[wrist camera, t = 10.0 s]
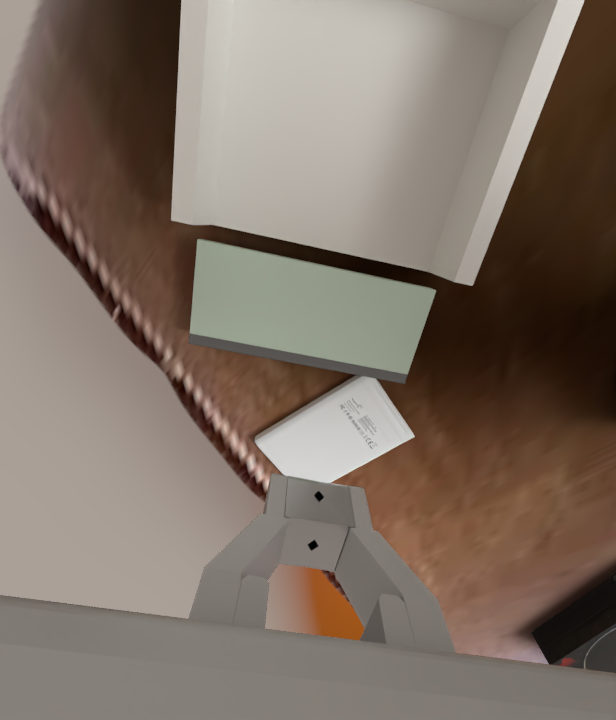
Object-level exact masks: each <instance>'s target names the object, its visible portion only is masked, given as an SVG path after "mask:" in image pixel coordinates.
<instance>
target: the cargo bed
mask: <svg viewBox="0 0 616 720" xmlns="http://www.w3.org/2000/svg"><path fill="white" fill-rule="evenodd" d="M583 3H584V0H181V20H180V41H179V62H178V83H177V104H176V125H175V147H174V168H173V189H172V210H171V221H176V222H180V223H185V224H190V225H216V226H221V227H225V228H230V229H234V230H239V231H243V232H248V233H253V234H257V235H262V236H266V237H271V238H275V239H280V240H285V241H289V242H294V243H298V244H303V245H307V246H312V247H317V248H321V249H326V250H330V251H335V252H339V253H344V254H349V255H353V256H358V257H362V258H367V259H371V260H376V261H381V262H385V263H390V264H394V265H399V266H403V267H408V268H413V269H417V270H422V271H426V272H430V273H432V274H435V275H437V276H440V277H442V278H445V279H448V280H450V281H453V282H456V283H461V284H466V285H470V286H473V284H474V281H475V279H476V276H477V274H478V271H479V268H480V266H481V263H482V261H483V258H484V256H485V253H486V251H487V248H488V245H489V243H490V240H491V238H492V235H493V233H494V230H495V228H496V225H497V222H498V220H499V217H500V215H501V212H502V210H503V207H504V205H505V202H506V199H507V197H508V194H509V192H510V189H511V187H512V184H513V182H514V179H515V177H516V174H517V171H518V169H519V166H520V164H521V161H522V159H523V156H524V154H525V151H526V148H527V146H528V143H529V141H530V138H531V136H532V133H533V131H534V128H535V125H536V123H537V120H538V118H539V115H540V113H541V110H542V108H543V105H544V102H545V100H546V97H547V95H548V92H549V90H550V87H551V85H552V82H553V79H554V77H555V74H556V72H557V69H558V67H559V64H560V62H561V59H562V57H563V54H564V51H565V49H566V46H567V44H568V41H569V39H570V36H571V34H572V31H573V28H574V26H575V23H576V21H577V18H578V16H579V13H580V11H581V8H582V5H583Z"/></svg>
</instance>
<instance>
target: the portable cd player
mask: <svg viewBox="0 0 616 720" xmlns="http://www.w3.org/2000/svg"><path fill="white" fill-rule="evenodd" d="M531 633H532V634H533V636H534V638H535V640H536V642H537V643H538V645H539V647H540V649H541V651H542V652H543V654H544V656H545V658H546V660H547V661H548V663H549V665H556V666H564V667H572V668H580V669H588V670H596V671H604V672H612V673H616V574H614V575H613V576H612V577H610V578H609V579H607V580H606V581H604V582H603V583H602V584H600V585H599V586H597V587H596V588H594V589H593V590H592V591H590V592H589V593H587V594H586V595H584V596H583V597H582V598H580V599H579V600H577V601H576V602H574V603H573V604H572V605H570V606H569V607H567V608H566V609H564V610H563V611H562V612H560V613H559V614H557V615H556V616H554V617H553V618H552V619H550V620H549V621H547V622H546V623H544V624H543V625H541V626H540V627H539V628H537V629H536V630H534V631H533V632H531Z"/></svg>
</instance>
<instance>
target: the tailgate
mask: <svg viewBox="0 0 616 720" xmlns="http://www.w3.org/2000/svg"><path fill="white" fill-rule="evenodd" d="M435 293H436V290H434V289H432V288H429V287H425V286H420V285H415V284H411V283H406V282H401V281H397V280H392V279H387V278H383V277H378V276H373V275H369V274H364V273H359V272H355V271H350V270H345V269H341V268H336V267H331V266H327V265H322V264H317V263H313V262H308V261H303V260H299V259H294V258H289V257H285V256H280V255H275V254H271V253H266V252H261V251H257V250H252V249H247V248H243V247H238V246H233V245H229V244H224V243H219V242H215V241H210V240H205V239H197V250H196V262H195V275H194V287H193V299H192V311H191V323H190V334H189V344H194V345H199V346H204V347H210V348H215V349H221V350H226V351H231V352H237V353H242V354H247V355H253V356H258V357H263V358H269V359H274V360H280V361H285V362H290V363H296V364H301V365H306V366H312V367H317V368H323V369H328V370H333V371H339V372H344V373H349V374H355V375H360V376H365V377H371V378H376V379H382V380H387V381H392V382H398V383H403V384H405V381H406V378H407V376H408V372H409V369H410V366H411V363H412V360H413V357H414V354H415V351H416V348H417V346H418V343H419V340H420V337H421V334H422V331H423V328H424V325H425V322H426V319H427V316H428V313H429V311H430V308H431V305H432V302H433V299H434V296H435Z"/></svg>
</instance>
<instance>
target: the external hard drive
mask: <svg viewBox="0 0 616 720" xmlns="http://www.w3.org/2000/svg"><path fill="white" fill-rule="evenodd" d="M413 437H415V436H414V434H413V432H412V431H411V429H410V428H409V426H408V425H407V423H406V422H405V420H404V419H403V417H402V416H401V415H400V413H399V412H398V410H397V409H396V407H395V406H394V404H393V403H392V401H391V400H390V398H389V397H388V395H387V394H386V392H385V391H384V389H383V388H382V386H381V385H380V383H379V382H378V380H377V379H376V378H371V377H365V376H360V375H355V376H354V377H352V378H350V379H349V380H347V381H345V382H344V383H342V384H340V385H339V386H337V387H335V388H334V389H332V390H331V391H329V392H327V393H325V394H324V395H322V396H320V397H319V398H317V399H316V400H314V401H312V402H311V403H309V404H307V405H306V406H304V407H302V408H301V409H299V410H297V411H296V412H294V413H292V414H291V415H289V416H287V417H286V418H284V419H283V420H281V421H279V422H278V423H276V424H274V425H273V426H271V427H269V428H268V429H266V430H264V431H263V432H261V433H260V434H258V435H256V436H255V440H254V441H255V443H256V445H257V446H258V447H259V449H260V450H261V451H262V452H263V453H264V454H265V455H266V456H267V457H268V458H269V460H270V461H271V462H272V463H273V464H274V465H275V466H276V467H277V468H278V469H279V471H280V472H281V473H282V474H283V475H285V476H292V477H297V478H303V479H308V480H313V481H319V482H326V483H331V482H333V481H334V480H336V479H338V478H340V477H342V476H344V475H345V474H347V473H349V472H351V471H353V470H354V469H356V468H358V467H360V466H362V465H364V464H366V463H367V462H369V461H371V460H373V459H375V458H377V457H378V456H380V455H382V454H384V453H386V452H388V451H389V450H391V449H393V448H395V447H397V446H398V445H400V444H402V443H404V442H406V441H408V440H410V439H411V438H413Z"/></svg>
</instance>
